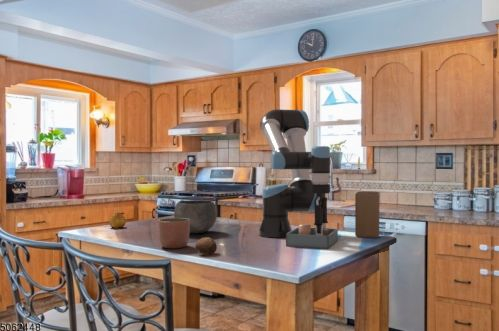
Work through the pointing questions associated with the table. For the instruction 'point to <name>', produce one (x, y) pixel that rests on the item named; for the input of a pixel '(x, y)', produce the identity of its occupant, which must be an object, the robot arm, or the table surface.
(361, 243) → the table surface
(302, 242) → the tote
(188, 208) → the bowl
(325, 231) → the walnut cube
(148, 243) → the table surface
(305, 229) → the peach colored egg
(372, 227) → the wooden block
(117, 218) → the fruit
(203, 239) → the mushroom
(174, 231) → the planter
